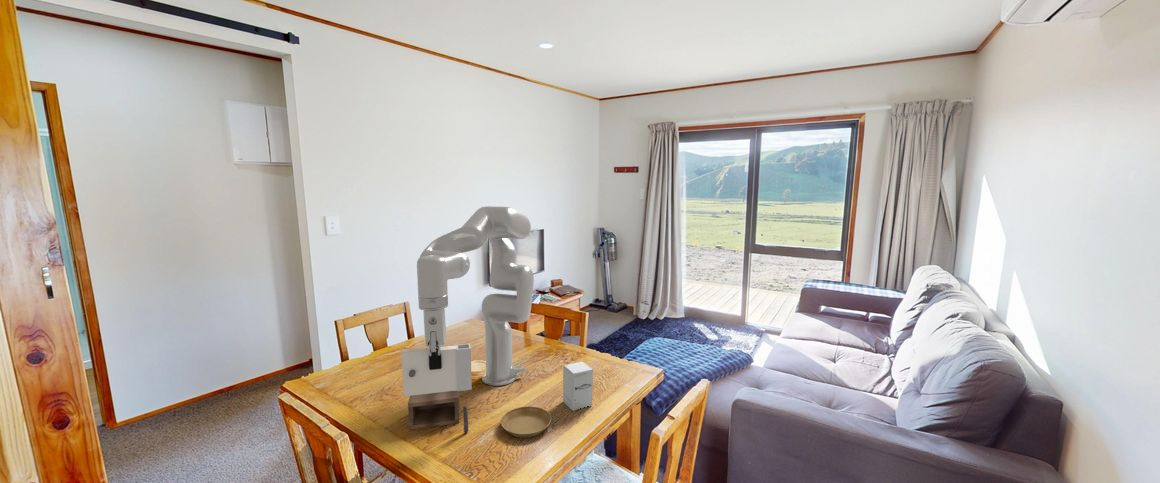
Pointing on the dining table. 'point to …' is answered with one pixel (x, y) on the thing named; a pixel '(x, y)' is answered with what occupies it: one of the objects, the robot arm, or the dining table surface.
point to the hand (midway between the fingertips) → (435, 365)
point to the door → (437, 370)
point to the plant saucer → (526, 421)
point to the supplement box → (577, 385)
